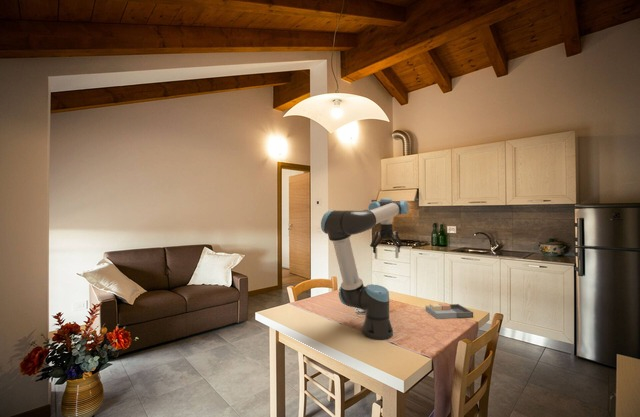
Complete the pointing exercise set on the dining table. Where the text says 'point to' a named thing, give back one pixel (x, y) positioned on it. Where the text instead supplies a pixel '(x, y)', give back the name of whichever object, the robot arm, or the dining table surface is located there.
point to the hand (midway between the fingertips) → (386, 258)
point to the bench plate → (442, 313)
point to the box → (461, 311)
